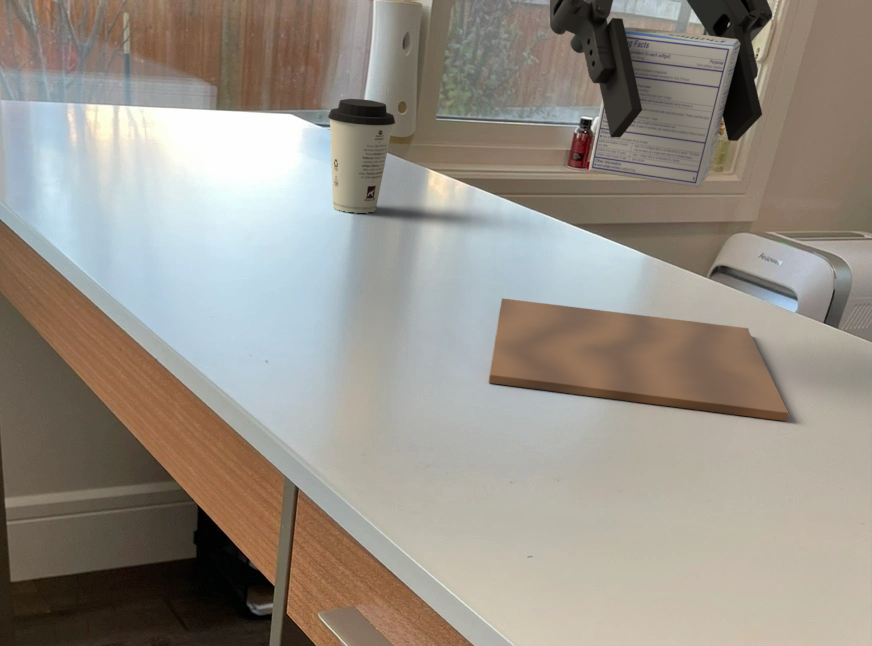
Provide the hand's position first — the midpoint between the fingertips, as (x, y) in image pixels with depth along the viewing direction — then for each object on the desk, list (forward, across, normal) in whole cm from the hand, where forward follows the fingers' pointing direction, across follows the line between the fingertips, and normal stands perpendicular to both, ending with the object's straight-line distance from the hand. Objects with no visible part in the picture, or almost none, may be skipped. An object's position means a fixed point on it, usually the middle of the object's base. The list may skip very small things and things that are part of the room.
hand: (686, 125), depth 74 cm
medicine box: (0, 0, -5) cm, 5 cm away
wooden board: (+11, 0, -11) cm, 16 cm away
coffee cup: (-23, +5, -46) cm, 52 cm away
